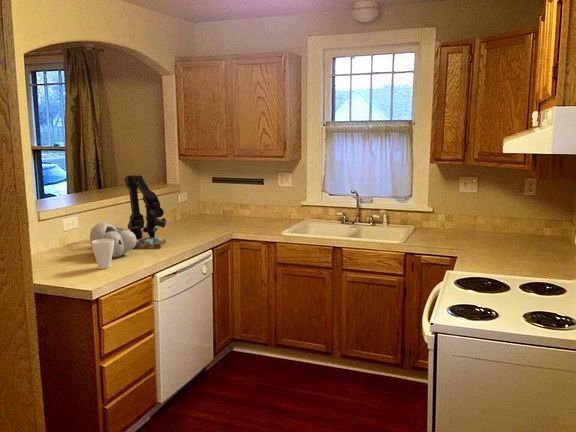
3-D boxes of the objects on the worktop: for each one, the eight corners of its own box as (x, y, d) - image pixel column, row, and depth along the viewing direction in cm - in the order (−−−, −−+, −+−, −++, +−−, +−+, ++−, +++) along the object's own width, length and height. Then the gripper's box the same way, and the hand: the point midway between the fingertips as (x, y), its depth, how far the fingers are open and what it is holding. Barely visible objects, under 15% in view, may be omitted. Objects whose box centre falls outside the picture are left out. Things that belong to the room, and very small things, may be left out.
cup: (107, 271, 254) (105, 243, 252) (88, 269, 257) (86, 242, 255) (119, 265, 264) (118, 239, 262) (101, 264, 267) (99, 238, 265)
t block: (138, 248, 303) (138, 241, 302) (143, 244, 313) (143, 237, 313) (156, 247, 303) (155, 241, 302) (160, 243, 313) (160, 237, 313)
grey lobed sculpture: (109, 249, 268) (112, 210, 276) (79, 261, 281) (83, 223, 290) (141, 258, 283) (143, 221, 292) (112, 269, 296) (114, 233, 305)
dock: (134, 248, 301) (133, 244, 301) (141, 243, 316) (140, 239, 315) (160, 248, 301) (160, 244, 301) (166, 242, 316) (165, 238, 315)
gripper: (161, 218, 302) (162, 244, 305) (168, 212, 321) (169, 237, 324) (142, 218, 302) (143, 244, 305) (150, 212, 321) (151, 237, 324)
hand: (152, 240), depth 315 cm, fingers closed
